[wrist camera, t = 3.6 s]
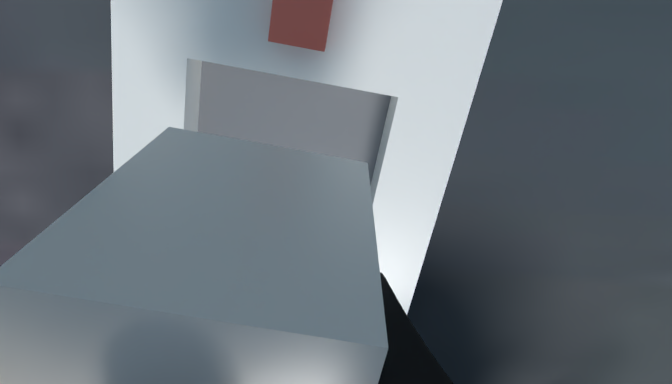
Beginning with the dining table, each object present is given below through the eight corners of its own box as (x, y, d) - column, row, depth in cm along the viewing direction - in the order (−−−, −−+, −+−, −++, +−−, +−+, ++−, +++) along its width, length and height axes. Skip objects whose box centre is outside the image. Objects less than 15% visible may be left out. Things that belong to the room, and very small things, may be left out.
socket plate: (494, -39, 15) (524, -40, 12) (387, 333, 21) (392, 382, 19) (138, -111, 14) (94, -128, 12) (136, 293, 21) (106, 338, 18)
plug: (367, 162, 11) (396, 423, 5) (332, 319, 13) (317, 663, 6) (168, 126, 11) (-98, 347, 4) (161, 291, 12) (-34, 621, 6)
